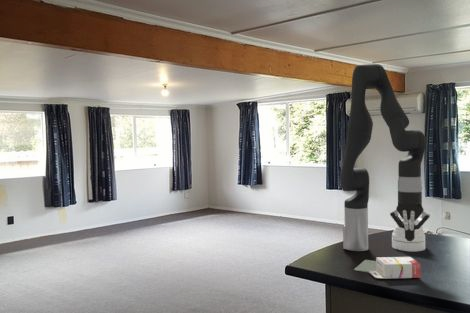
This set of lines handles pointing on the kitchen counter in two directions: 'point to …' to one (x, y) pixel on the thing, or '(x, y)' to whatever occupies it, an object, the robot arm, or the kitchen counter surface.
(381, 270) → the ink cartridge box
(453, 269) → the kitchen counter surface
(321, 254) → the kitchen counter surface
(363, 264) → the mat
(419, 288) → the kitchen counter surface
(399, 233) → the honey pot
